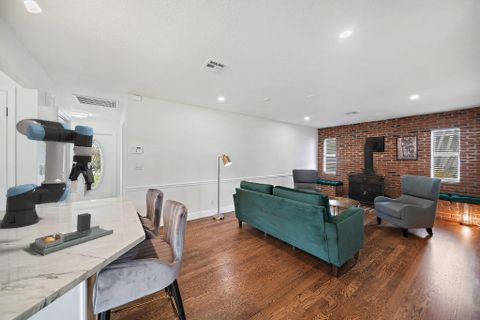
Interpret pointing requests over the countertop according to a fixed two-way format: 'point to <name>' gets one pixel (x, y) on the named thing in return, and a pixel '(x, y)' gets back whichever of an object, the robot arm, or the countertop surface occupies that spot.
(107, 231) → the grey-green channel tray
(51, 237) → the ball
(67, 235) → the block
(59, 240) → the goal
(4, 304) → the countertop surface
